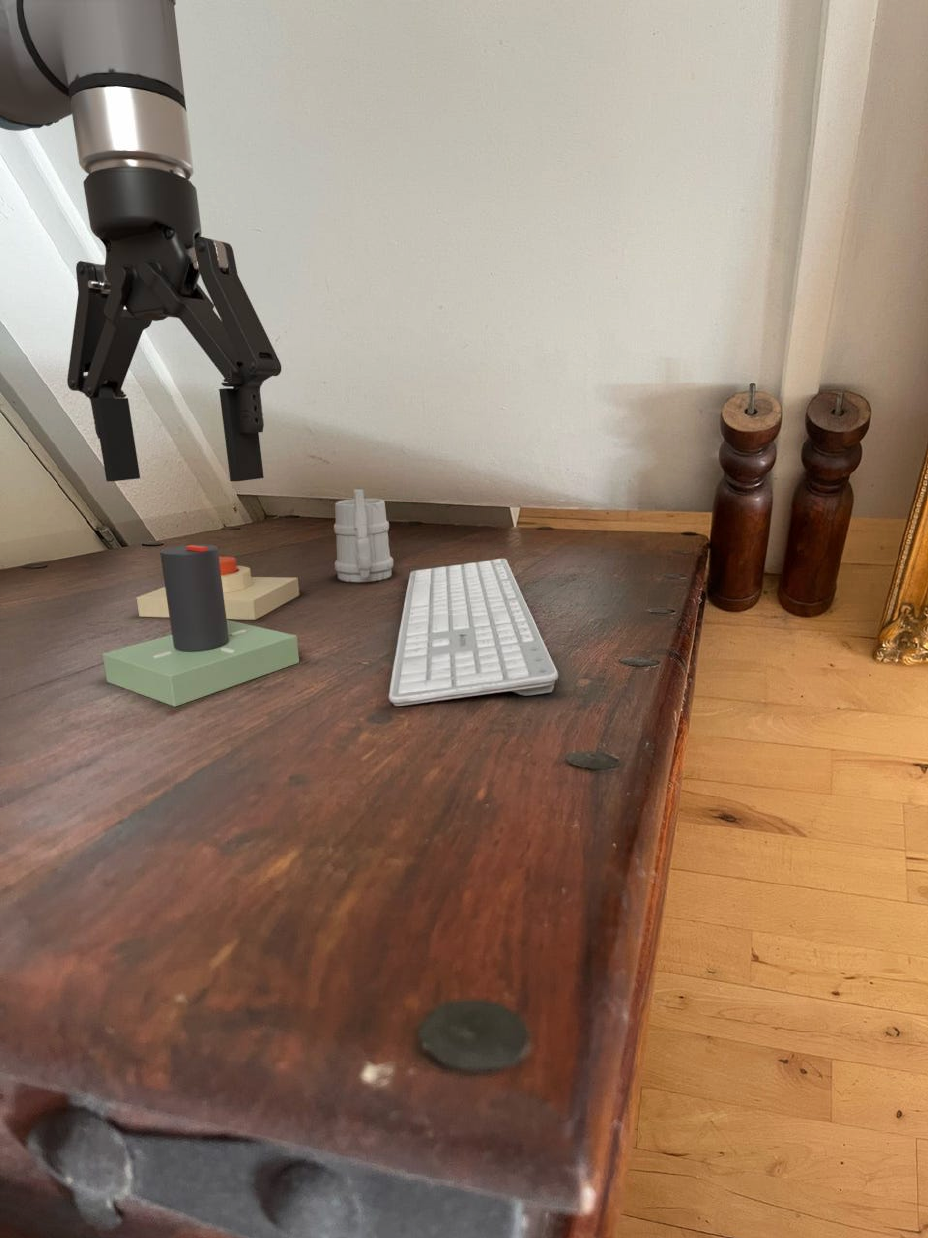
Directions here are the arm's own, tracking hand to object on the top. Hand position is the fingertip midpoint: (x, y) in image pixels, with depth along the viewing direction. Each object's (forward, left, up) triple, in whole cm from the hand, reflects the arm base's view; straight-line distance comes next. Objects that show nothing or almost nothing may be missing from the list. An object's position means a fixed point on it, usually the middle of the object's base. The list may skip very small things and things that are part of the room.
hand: (182, 480), depth 59 cm
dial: (0, 0, -13) cm, 13 cm away
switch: (-16, +18, -12) cm, 27 cm away
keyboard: (+13, +21, -16) cm, 30 cm away
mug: (-8, +35, -16) cm, 39 cm away
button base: (-16, +18, -16) cm, 29 cm away
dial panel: (0, 0, -16) cm, 16 cm away
